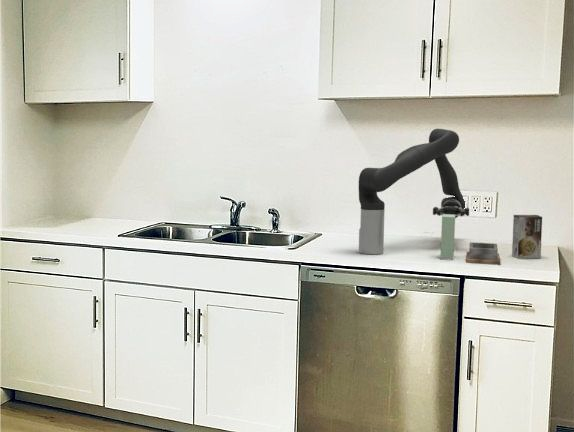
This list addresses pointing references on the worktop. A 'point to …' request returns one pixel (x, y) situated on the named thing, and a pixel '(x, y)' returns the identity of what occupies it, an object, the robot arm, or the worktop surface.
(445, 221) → the block
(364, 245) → the robot arm
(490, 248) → the gray frame wooden base
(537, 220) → the coffee box
